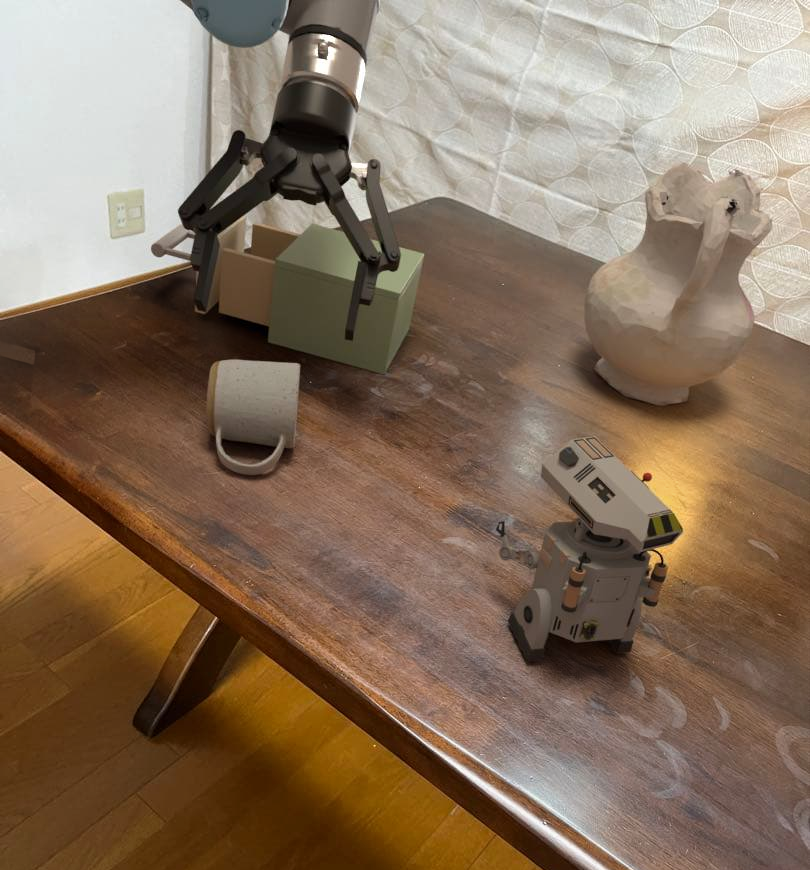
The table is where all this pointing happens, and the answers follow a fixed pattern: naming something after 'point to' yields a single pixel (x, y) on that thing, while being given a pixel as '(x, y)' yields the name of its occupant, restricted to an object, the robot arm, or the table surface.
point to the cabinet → (340, 301)
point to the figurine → (592, 553)
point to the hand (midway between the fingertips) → (274, 321)
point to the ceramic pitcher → (678, 288)
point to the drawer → (238, 267)
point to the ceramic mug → (253, 408)
